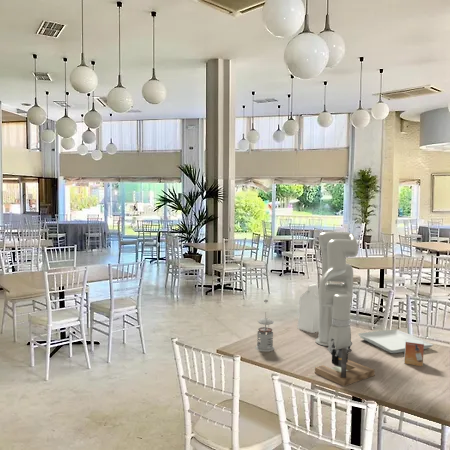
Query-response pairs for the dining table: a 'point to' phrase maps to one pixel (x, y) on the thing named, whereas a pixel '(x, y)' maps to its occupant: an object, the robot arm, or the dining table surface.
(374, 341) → the square plate
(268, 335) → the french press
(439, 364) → the dining table surface
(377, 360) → the dining table surface
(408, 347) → the small box
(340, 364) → the grey cylinder
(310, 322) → the milk
